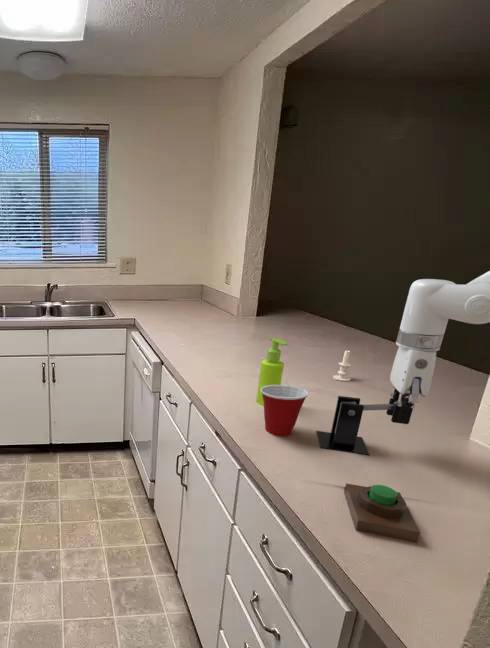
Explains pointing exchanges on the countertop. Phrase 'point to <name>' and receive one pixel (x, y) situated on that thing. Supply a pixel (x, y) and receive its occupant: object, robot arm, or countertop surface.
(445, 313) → the robot arm
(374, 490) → the light button
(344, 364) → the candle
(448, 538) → the countertop surface
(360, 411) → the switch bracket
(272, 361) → the soap dispenser
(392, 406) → the light lever
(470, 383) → the countertop surface
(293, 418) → the plastic cup
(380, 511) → the button block
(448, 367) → the countertop surface
